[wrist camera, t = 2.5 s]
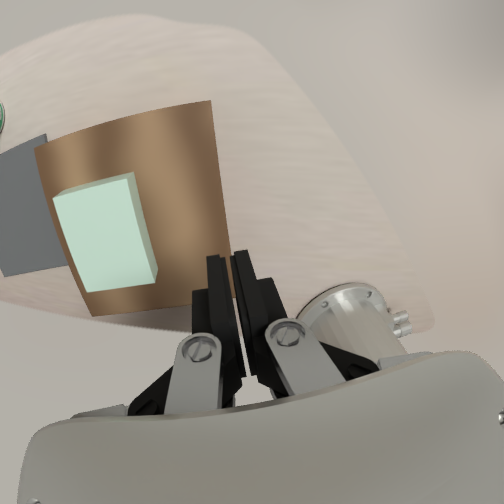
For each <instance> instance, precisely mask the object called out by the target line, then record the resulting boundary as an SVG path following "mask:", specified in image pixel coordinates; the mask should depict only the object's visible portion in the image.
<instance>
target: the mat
mask: <svg viewBox="0 0 504 504" xmlns="http://www.w3.org/2000/svg"><path fill="white" fill-rule="evenodd" d="M45 143H47V137H46V134H43V135H41V136H38V137H36V138H34V139H31V140H29V141H27V142H25V143H22V144H20V145H18V146H16V147H14V148H12V149H10V150H8V151H6V152H4V153H2V154H0V268H1V271H2V273H3V275H4V277H7V276H12V275H17V274H22V273H27V272H32V271H38V270H43V269H48V268H54V267H59V266H65V265H68V262H67V260H66V257H65V254H64V252H63V249H62V247H61V244H60V241H59V238H58V236H57V233H56V230H55V227H54V224H53V221H52V218H51V215H50V211H49V208H48V205H47V201H46V198H45V194H44V191H43V187H42V183H41V179H40V175H39V171H38V167H37V162H36V158H35V153H34V148H35V147H37V146H40V145H42V144H45Z"/></svg>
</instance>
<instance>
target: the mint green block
mask: <svg viewBox="0 0 504 504" xmlns="http://www.w3.org/2000/svg"><path fill="white" fill-rule="evenodd" d="M53 201H54V205H55V208H56V212H57V215H58V218H59V221H60V224H61V227H62V230H63V233H64V236H65V239H66V242H67V244H68V247H69V250H70V252H71V255H72V258H73V260H74V263H75V265H76V268H77V270H78V273H79V275H80V277H81V280H82V282H83V284H84V287H85V289H86V291H87V292H94V291H102V290H109V289H116V288H123V287H130V286H137V285H144V284H151V283H155V280H156V276H157V272H158V267H157V263H156V260H155V256H154V253H153V249H152V246H151V242H150V238H149V234H148V231H147V227H146V223H145V219H144V215H143V211H142V206H141V202H140V198H139V194H138V189H137V184H136V180H135V175H134V172H131V173H126V174H122V175H118V176H114V177H110V178H106V179H102V180H98V181H94V182H90V183H86V184H83V185H79V186H76V187H72V188H69V189H65V190H63V191H62V192H60V193H59V194H58V195H56V196H55V197H54V198H53Z"/></svg>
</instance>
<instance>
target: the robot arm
mask: <svg viewBox="0 0 504 504" xmlns="http://www.w3.org/2000/svg"><path fill="white" fill-rule="evenodd" d="M229 257H230V264H231V270H232V277H233V283H234V289H235V295H236V302H237V308H238V313H239V319H240V324H241V329H242V334H243V339H244V343H245V348H246V353H247V358H248V363H249V368H250V372H251V376H254V375H257V378H258V382H259V383H261V384H263V385H265V386H267V387H269V388H270V392H271V394H272V396H273V398H274V400H271V401H265V402H261V403H255V404H249V405H243V406H237V407H235V395H234V394H235V393H236V392H237V391H238V390H239V389H240V388H241V387H242V380H241V378H242V377H247V376H246V371H245V366H244V360H243V355H242V349H241V344H240V338H239V333H238V327H237V322H236V316H235V311H234V305H233V299H232V294H231V288H230V282H229V277H228V271H227V265H226V259H225V257H220V255H219V254H217V255H211V256H206V262H207V279H208V288H204V289H198V290H193V291H192V335H190V336H188V337H186V338H185V339H184V340H182V342H181V343H180V344H179V346H178V348H177V352H176V357H175V361H174V365H173V366H172V367H171V368H170V369H169V370H167V371H166V372H165V373H164V374H163V375H162V376H161V377H160V378H158V379H157V380H156V381H155V382H154V383H153V384H151V385H150V386H149V387H148V388H147V389H146V390H145V391H143V392H142V393H141V394H140V395H139V396H138V397H136V398H135V399H134V400H133V401H132V403H131V404H130V405H129V406H124V405H123V404H121V405H116V406H112V407H108V408H103V409H98V410H93V411H88V412H83V413H78V414H76V415H74V416H73V417H72V418H70V419H67V420H63V421H58V422H55V423H52V424H49V425H47V426H45V427H43V428H41V429H40V430H38V431H37V432H36V433H35V434H34V435H33V437H32V438H31V440H30V442H29V444H28V447H27V450H26V453H25V456H24V460H23V465H22V469H21V474H20V481H19V488H18V498H17V504H504V382H503V380H502V379H501V377H500V376H499V375H498V374H497V373H496V371H495V370H494V369H493V368H492V367H491V366H490V365H489V364H488V363H487V362H486V361H485V360H484V359H483V358H481V357H480V356H478V355H477V354H475V353H472V352H468V351H444V352H439V353H431V352H419V353H413V354H408V353H407V351H406V350H405V348H404V347H403V346H402V344H401V343H400V341H399V340H398V338H400V337H403V336H406V335H408V334H411V332H412V325H411V323H410V322H409V321H407V320H408V317H409V316H408V313H407V311H406V310H404V311H401V312H398V313H396V314H393V315H392V314H391V313H388V311H387V305H386V301H385V299H384V297H383V296H382V295H381V293H380V292H379V291H378V290H377V289H376V288H374V287H373V286H370V285H368V284H363V283H349V284H345V285H340V286H338V287H335V288H332V289H330V290H328V291H326V292H324V293H323V294H321V295H320V296H318V297H317V298H315V299H314V300H313V301H312V302H311V303H309V304H308V305H307V306H306V307H305V308H304V310H303V311H302V312H301V314H300V315H299V316H298V318H297V319H294V318H288V317H287V314H286V312H285V309H284V307H283V304H282V301H281V299H280V296H279V294H278V291H277V289H276V286H275V284H274V281H273V279H272V278H271V277H270V278H265V279H259V280H257V279H256V276H255V273H254V269H253V266H252V263H251V260H250V257H249V253H248V250H242V251H235V252H234V255H233V256H229ZM396 323H397V324H396ZM395 324H396V325H395Z"/></svg>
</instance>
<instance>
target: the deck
mask: <svg viewBox="0 0 504 504" xmlns="http://www.w3.org/2000/svg"><path fill="white" fill-rule="evenodd" d="M34 153H35V158H36V162H37V167H38V171H39V175H40V179H41V183H42V187H43V191H44V194H45V198H46V201H47V205H48V208H49V211H50V215H51V218H52V221H53V224H54V227H55V230H56V233H57V236H58V238H59V241H60V244H61V247H62V249H63V252H64V254H65V257H66V260H67V262H68V265H69V267H70V269H71V272H72V274H73V277H74V279H75V281H76V283H77V286H78V288H79V290H80V292H81V295H82V297H83V299H84V301H85V303H86V305H87V307H88V309H89V311H90V313H91V315H92V317H93V316H103V315H112V314H121V313H130V312H139V311H147V310H155V309H162V308H170V307H177V306H185V305H192V291H193V290H198V289H204V288H208V279H207V262H206V256H211V255H217V254H219V255H220V257H225V259H226V265H227V271H228V277H229V282H230V288H231V294H232V298H236V295H235V289H234V283H233V277H232V270H231V264H230V257H229V256H231V249H230V242H229V236H228V229H227V222H226V214H225V207H224V200H223V193H222V185H221V178H220V170H219V163H218V155H217V147H216V139H215V131H214V123H213V115H212V106H211V100H209V101H202V102H195V103H189V104H183V105H178V106H172V107H167V108H162V109H157V110H153V111H148V112H144V113H140V114H135V115H131V116H127V117H124V118H120V119H116V120H113V121H109V122H106V123H102V124H99V125H96V126H92V127H89V128H86V129H83V130H80V131H77V132H74V133H71V134H68V135H66V136H63V137H60V138H58V139H55V140H52V141H50V142H47V143H45V144H42V145H40V146H37V147H35V148H34ZM131 172H134V175H135V180H136V184H137V189H138V194H139V198H140V202H141V206H142V211H143V215H144V219H145V223H146V227H147V231H148V234H149V238H150V242H151V246H152V249H153V253H154V256H155V260H156V263H157V267H158V272H157V276H156V280H155V283H151V284H144V285H137V286H130V287H123V288H116V289H109V290H102V291H94V292H87V291H86V289H85V287H84V284H83V282H82V280H81V277H80V275H79V273H78V270H77V268H76V265H75V263H74V260H73V258H72V255H71V252H70V250H69V247H68V244H67V242H66V239H65V236H64V233H63V230H62V227H61V224H60V221H59V218H58V215H57V212H56V208H55V205H54V201H53V198H54V197H55V196H56V195H58V194H59V193H60V192H62V191H63V190H65V189H69V188H72V187H76V186H79V185H83V184H86V183H90V182H94V181H98V180H102V179H106V178H110V177H114V176H118V175H122V174H126V173H131Z"/></svg>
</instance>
